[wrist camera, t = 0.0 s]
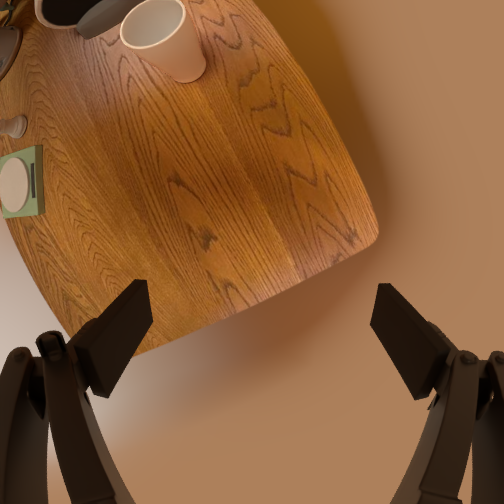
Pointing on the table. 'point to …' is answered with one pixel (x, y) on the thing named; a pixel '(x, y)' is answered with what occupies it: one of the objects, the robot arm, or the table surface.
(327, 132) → the table surface
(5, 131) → the rook chess piece
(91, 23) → the alarm clock
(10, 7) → the soap bottle
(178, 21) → the drinking glass
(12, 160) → the scale
